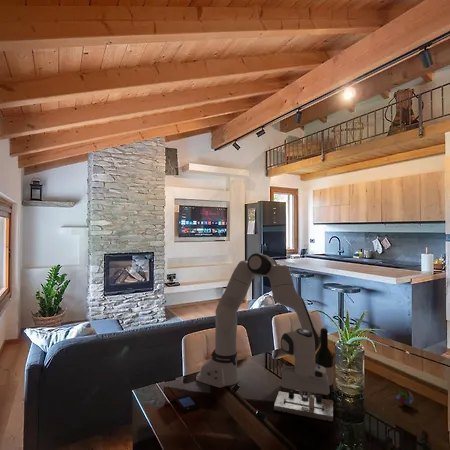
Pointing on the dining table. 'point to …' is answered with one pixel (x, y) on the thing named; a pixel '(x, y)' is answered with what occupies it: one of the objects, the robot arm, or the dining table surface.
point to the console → (304, 405)
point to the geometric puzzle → (405, 398)
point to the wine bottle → (325, 357)
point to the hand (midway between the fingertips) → (305, 400)
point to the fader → (311, 401)
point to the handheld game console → (185, 402)
